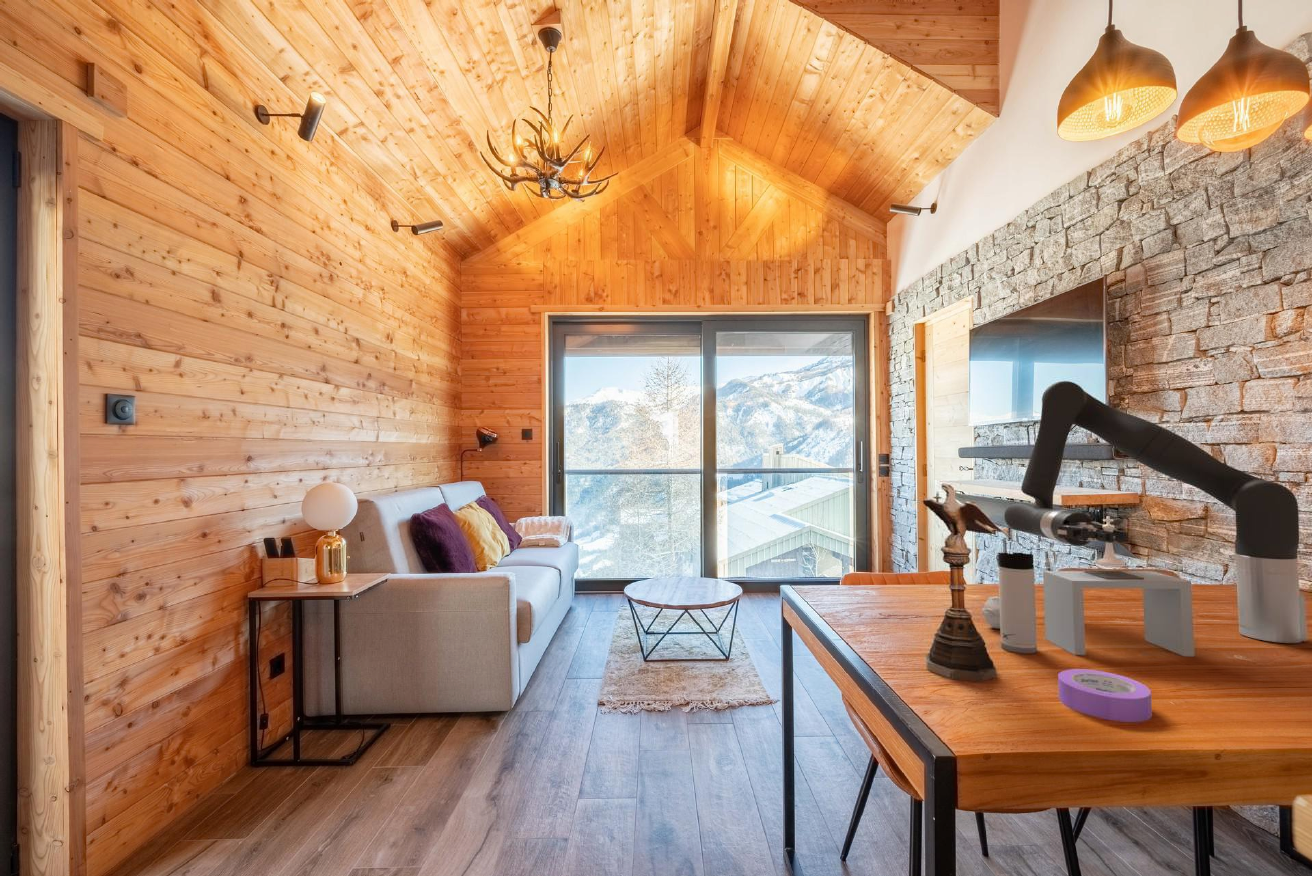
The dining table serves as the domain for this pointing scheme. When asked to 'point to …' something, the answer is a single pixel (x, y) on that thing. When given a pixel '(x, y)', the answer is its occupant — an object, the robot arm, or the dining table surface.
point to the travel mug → (1017, 602)
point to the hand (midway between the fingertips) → (1118, 537)
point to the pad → (1113, 575)
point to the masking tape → (1105, 695)
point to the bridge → (1161, 593)
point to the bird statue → (960, 595)
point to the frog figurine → (992, 612)
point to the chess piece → (1109, 549)
